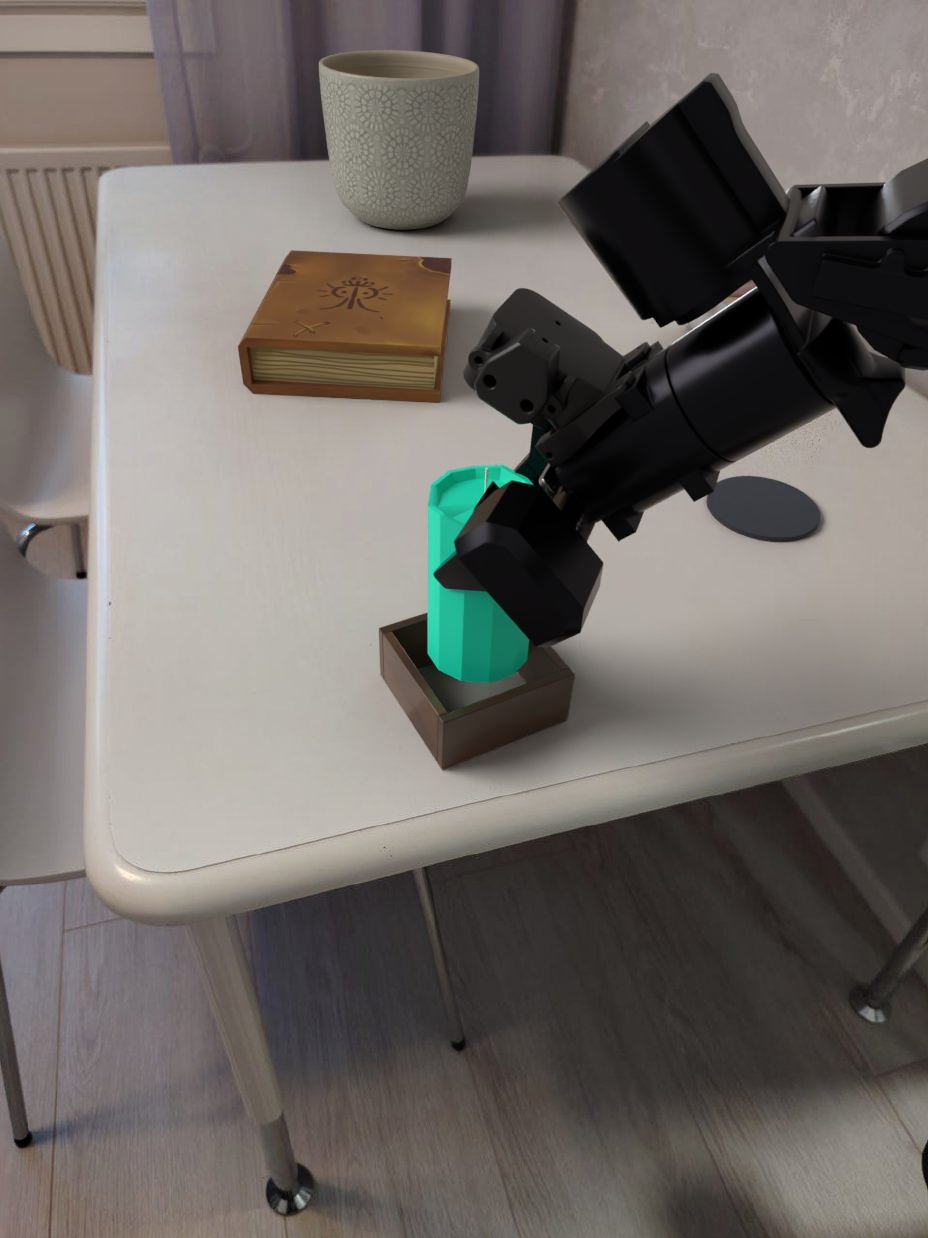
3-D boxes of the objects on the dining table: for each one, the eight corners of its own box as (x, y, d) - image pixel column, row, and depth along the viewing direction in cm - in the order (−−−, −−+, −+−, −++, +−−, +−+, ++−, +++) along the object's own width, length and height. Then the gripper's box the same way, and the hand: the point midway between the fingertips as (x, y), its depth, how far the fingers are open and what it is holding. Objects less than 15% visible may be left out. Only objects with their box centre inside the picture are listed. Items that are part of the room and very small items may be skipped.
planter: (298, 221, 122) (284, 63, 109) (384, 188, 135) (381, 44, 123) (421, 252, 114) (421, 85, 101) (499, 214, 128) (508, 63, 115)
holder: (567, 720, 52) (575, 673, 50) (441, 770, 49) (443, 723, 47) (497, 634, 58) (501, 588, 55) (380, 674, 55) (378, 627, 52)
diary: (289, 301, 100) (284, 249, 96) (450, 309, 100) (451, 257, 96) (244, 393, 83) (236, 334, 79) (439, 402, 83) (440, 344, 79)
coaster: (843, 524, 69) (844, 520, 69) (759, 553, 66) (760, 549, 66) (764, 470, 75) (765, 466, 75) (683, 494, 72) (684, 490, 72)
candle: (447, 606, 54) (450, 431, 46) (540, 628, 52) (560, 452, 45) (411, 668, 49) (408, 486, 42) (512, 694, 48) (528, 511, 40)
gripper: (640, 185, 41) (427, 364, 51) (519, 330, 28) (263, 534, 38) (767, 371, 44) (543, 505, 54) (713, 580, 31) (429, 707, 41)
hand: (458, 551), depth 47 cm, fingers closed on candle, 5 cm apart
